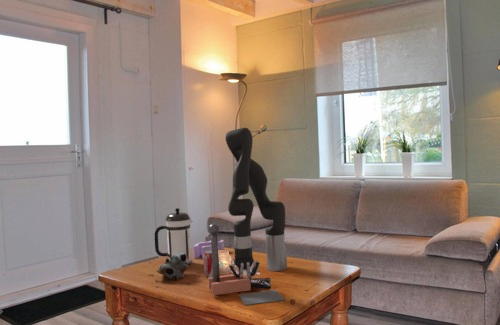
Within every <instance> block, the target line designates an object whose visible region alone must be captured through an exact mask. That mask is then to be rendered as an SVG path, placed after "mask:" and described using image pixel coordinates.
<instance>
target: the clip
mask: <svg viewBox="0 0 500 325" xmlns="http://www.w3.org/2000/svg"><path fill="white" fill-rule="evenodd" d="M224 243H225V242H224V239H220V241H219V240H218V250H224V251H225V244H224ZM207 250H211V239H210V240H209V241H203V242H198V243H196V244H195V245H192V253H193V255H192V256H193V259H199V258H200V256H202V258H201V259H202V260H203V261H204V254H205V251H207Z"/></svg>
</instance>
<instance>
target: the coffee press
mask: <svg viewBox="0 0 500 325" xmlns="http://www.w3.org/2000/svg"><path fill="white" fill-rule="evenodd" d="M174 210H175V212H171V213H169V214H168V215H166V217H165V221H166V225H161V226H158V227H157V228H155V231H154V248H155V249H154V250H155V252H156V253H155V254H157V256H160V257H167V258H169V260H170V261H171V258H172V256H173V255H175V254H177V253H183V254H186V255H187V254H188V258H189V263H188V267H190V266H191V262H192V247H191V223H194V221H193V220H192V218H191V217H190V215H189V214H188V213H187V212H181V211H180V208H178V207H177V208H175V209H174ZM161 230H166V236H167V237H166V239H167V252H161V251H160V249H159V248H160V247H159V246H160V245H159V232H160V231H161Z"/></svg>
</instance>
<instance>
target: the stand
mask: <svg viewBox="0 0 500 325" xmlns="http://www.w3.org/2000/svg"><path fill="white" fill-rule="evenodd" d="M219 231H220V227H219V226H218V225H217V223H216V224H215V223H212V224H210V225H209V226H208V232H209V234H210V240H211V251H212V271H213V283H214V282H220V276H221V275H220V257H219V254H218V242H219V238H218V233H219ZM220 295H221V294H219V295H218V296H220Z"/></svg>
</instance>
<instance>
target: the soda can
mask: <svg viewBox="0 0 500 325" xmlns="http://www.w3.org/2000/svg"><path fill="white" fill-rule="evenodd" d="M203 269H204V270H203V271H204V276H205V277H206V278H208V277H213V271H212V251H211V250H207V251H205V254H204V260H203Z"/></svg>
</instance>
